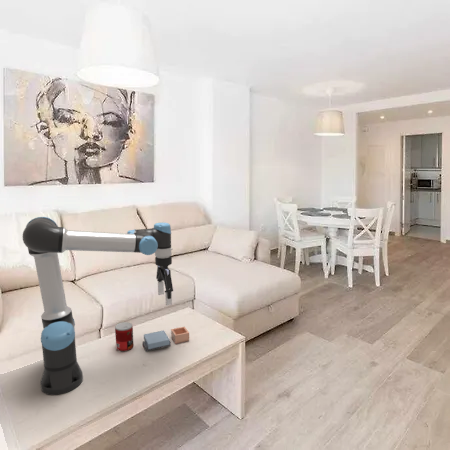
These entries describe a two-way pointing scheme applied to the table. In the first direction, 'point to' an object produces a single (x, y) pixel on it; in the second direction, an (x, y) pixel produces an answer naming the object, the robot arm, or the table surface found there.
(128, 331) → the canned food
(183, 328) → the open box
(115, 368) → the table surface
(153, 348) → the block
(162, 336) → the blue square slab
